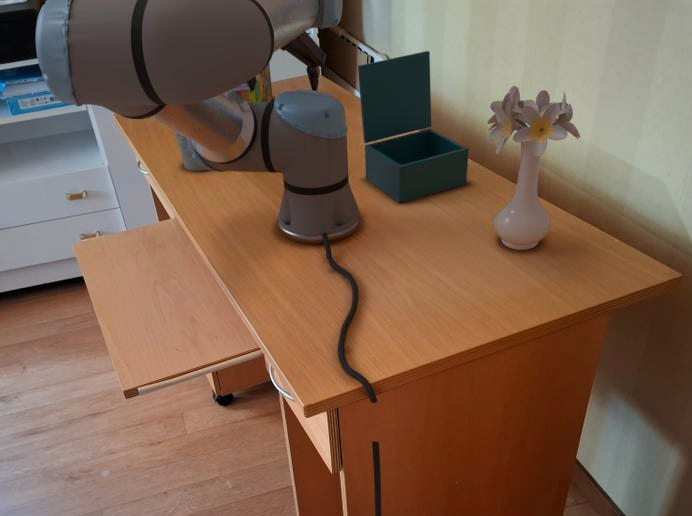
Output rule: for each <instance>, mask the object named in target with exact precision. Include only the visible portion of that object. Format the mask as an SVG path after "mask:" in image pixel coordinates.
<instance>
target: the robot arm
mask: <svg viewBox="0 0 692 516" xmlns="http://www.w3.org/2000/svg"><path fill="white" fill-rule="evenodd" d="M342 14H343V0H46V1H45V3H44V4H43V5H42V6H41V8H40V10H39V13H38V15H37V19H36V26H35V50H36V57H37V58H36V59H37V62H38V66H39V69H40V71H41V75H42V79H43V80H44V83H45V84H46V86H47V88H48V90H49V92H50V93H51V94H52V96H53V97H55V98H56V99H57V100H58V101H59V102H61V103H63V104H66V105H74V106H75V107H83V105H85V106H87V105H90V106H98V107H102V108H104V109H106V110H108V111H110V112H112V113H113V114H114V113H115V114H116V115H119V116H121V117H123V118H125V119H129V120H135V121H138V120H140V121H141V120H142V121H143V120H146V119H151V120H154V122H157V123H159V124H161V125H163V126H165V127H167V128H168V129H170V130H172V131H174V132H175V131H176V132H177V133H179V134H181V135H183V136H185V137H187V142H188V147H189V150H190V152H193V155H192V156H193V158H194V160H195V161H196V162H197V163H198V165H200V166H201V167H203V168H205V169H208V170H207V171H213V172H218V173H223V172H245V173H247V172H249V173H277V174H279V173H280V174H281V175H282V180H283V194H282V196H281V202H280V207H279V211H278V216H277V224H278V231H279V233H280V234H281V235H282V236H283V237H284V238H285V239H286V240H287V239H288V240H289V241H291V242H295V243H298V244H304V245H323V246H324V250H325V257H326V260H327V262H328V264H329V265H330V266H331V267H332V269H334V270H335V271H336V272H337V273H339V274H340V275H342V276H343V277H344V278H345V279H347V281H348V282H349V284H350V287H351V290H352V299H351V304H350V305H351V306H350V309H349V311H348V313H347V315H346V317H345V319H344V321H343V323H342V326H341V328H340V331H339V338H338V344H337V357H338V360H339V364H340V366H341V369H343V371H344V372H345V373H346V374H347V375H349V377H351V378H353V380H356V381H357V382H359V383H360V384H361V386H362V387H363V388H364V389H365V391H366V393H367V395H368V399H369V402H370V403H371V404H376V403H378V398H377V395H376V392H375V390H374V387H373V386H372V384H371V383H370V381H369V380H368V379H367V378H366V377H365V376H364V375H363V374H361V373H360V372H358V371H356V370H355V369H353V368H352V367H351V366H350V365H349V363H348V361H347V358H346V353H345V347H346V338H347V333H348V330H349V327H350V326H351V323H352V321H353V320H354V317H355V315H356V312H357V310H358V304H359V295H360V293H359V286H358V283H357V281H356V279H355V278H354V276H353V274H351V273H350V272H349V271H348V270H346V269H345V268H343V267H342V266H340V265H339V264H338V263H337V262H336V261H335V259H334V257H333V253H332V248H331V244H332V243H334V242H339V241H342V240H344V239H346V238H348V237H350V236H352V235H353V234H355V233H356V232H357V231H358V230H359V228H360V226H361V212H360V209H359V206H358V203H357V201H356V198H355V196H354V192H353V190H352V188H351V186H350V182H349V181H350V180H349V157H348V155H349V153H348V132H349V131H348V125H347V121H346V111H345V107H344V105H343V103H342V102H341V101H340V100H339V99H338V98H337V97H335V96H333V95H332V94H329V93H326V92H324V91H319V90H318V87H319V84H320V83H319V82H320V80H319V78H320V73H321V69H320V68H323V67H324V65H325V61H326V57H327V55H326V53H325V52H324V50H322V48H321V47H320V45H318V43H316V41H315V40H314V39H313V38H312V37H311V36H310V34H309V33H308V32H307V31H309V30H311V29H320V30H323V29H325V28H335V27H337V26H338V25H339V23H340V22H341V20H342V19H341V18H342ZM279 50H281V51H282V52H285V51H286V52H287V53H289V54H290V55H291V56H293V57H294V58H295V59H297V60H298V61H300V62H301V63H302V64H303V65H305V66H306V73H307V78H308V80H309V85H310V88H311V89H296V90H287V91H283V92H281V93H279V94H278V95H277V96H276V97H275V99H274V101H271V102H248V101H246V100H245V99H244V98H243V97H241V96H240V95H238V94H236V93H234V92H232V91H231V90H232V89H234V88H236V87H238V86H240V85H242V84H244V83H245V82H247V83H248V86H249V88H250V90H251V91H254V89H255V85H256V82H257V80H256V77H255V76H256V75H258V74H259V73H261V72H262V71H263V70H264V69H265V68H266V66H267V65H268V64H270V62H271V60H272V57H273V55H274V53H275V52H277V51H279ZM330 243H331V244H330ZM371 448H372V449H371V450H372V462H373V463H372V464H373V485H374V487H373V489H374V490H373V491H374V516H382V476H381V475H382V474H381V457H380V456H381V455H380V442H379V441H375V440H374V441H373V440H372V441H371Z"/></svg>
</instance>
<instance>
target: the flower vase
mask: <svg viewBox="0 0 692 516" xmlns="http://www.w3.org/2000/svg"><path fill="white" fill-rule="evenodd" d="M503 97H504V98H503V100H494V101H492V102H491V103H490V105H489V107H490V108H489V109H490V110H491V111H492V112H493V113H494V114H493V115H492V116H491V117H490V118H488V120H487V123H486V124H487V125H490V124H492V125H491V126H490V127H489V128H488V132H489V131H490V132H489V134H488V140H489V141H490V142H495V141H498V142H497V144H496V148H495V154H496V155H499V154H500V153H501V151H502V149H503V148H504V146H505V144H506V143H507V141H508V140H509V138H510V137H511V136H512V140H513V141H514V142H515V143H520V160H519V161H520V163H519V167H518V168H519V169H518V170H519V171H518V175H517V176H518V177H517V181H516V186H515V190H514V192H513V195H512V197H511V198H510V200H509V201H508V203H506V204H505V205H503V206H502V208H501V209H500V210H498V211H497V213H496V215H495V217H494V220H493V224H492V226H493V229H494V231H495V233H496V234H497V235H498V237H499V238H500V240H501V243H502V245H504V246H505V247H507V248H509V249H512V250H517V251H525V250H530V249H534V248H536V246H538V244H539V241H541V240H543V239H544V238H545V237H546V236H547V235H548V233H550V231H551V226H552V222H551V217H550V214H549V213H548V211H547V210H546V209H545V208H544V207H543V206H542V204H541V202H540V198H539V193H538V183H539V182H538V181H539V171H540V162H541V157H542V156H543V155H544V154H545V152H546V149H547V146H548V140H551V141H563V140H565V139H566V138H567V137H568V133H569V134H571V135H572V136H573V137H574V138H576V139H577V140H579V139H580V138H581V134H580V132H579V130H578V128H577V127H576V126H575V124H574V123H572V122H571V121H572V119H573V116H574V113H573V107H572V105H571V103H568V102H567V97H566V91H565V90H564V91H563V96H562V101H559V102H556V101H555V102H554V101H553V102H550V101H551V99H550V98H551V97H550V94H549V92H548V91H547V90H545V89H542V90H540V91H539V92H538V93H537V95H536V98H535V100H533V99H525V100H521V93H520V90H519V86H517V85H512V86H511V87H510V88H509V90H508V92H507V93H506V94H505V95H504V96H503ZM515 131H516V132H515ZM514 132H515V133H514Z"/></svg>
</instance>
